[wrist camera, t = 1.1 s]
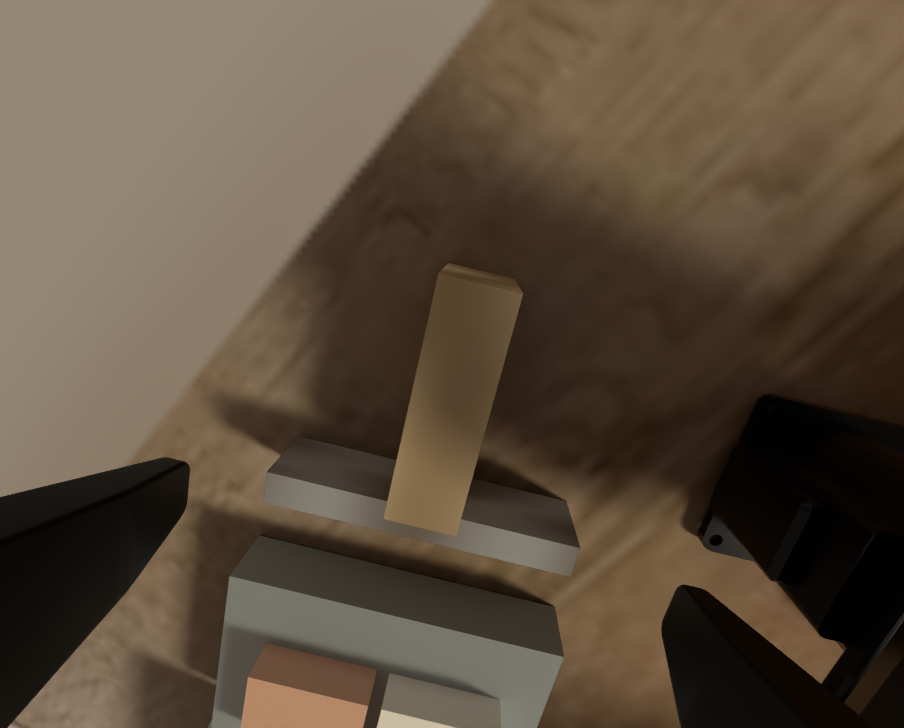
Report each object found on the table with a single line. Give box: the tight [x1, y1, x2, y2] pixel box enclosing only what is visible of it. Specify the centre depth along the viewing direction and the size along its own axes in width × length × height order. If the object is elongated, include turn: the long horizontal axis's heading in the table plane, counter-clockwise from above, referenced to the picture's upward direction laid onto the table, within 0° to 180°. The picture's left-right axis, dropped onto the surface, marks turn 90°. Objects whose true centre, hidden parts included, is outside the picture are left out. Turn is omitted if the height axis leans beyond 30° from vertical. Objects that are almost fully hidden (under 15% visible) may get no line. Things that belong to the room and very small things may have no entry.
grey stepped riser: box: [211, 535, 564, 728], centre depth 21 cm, size 13×9×2 cm
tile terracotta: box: [241, 643, 377, 728], centre depth 19 cm, size 4×4×2 cm
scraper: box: [263, 263, 580, 577], centre depth 16 cm, size 11×9×4 cm
